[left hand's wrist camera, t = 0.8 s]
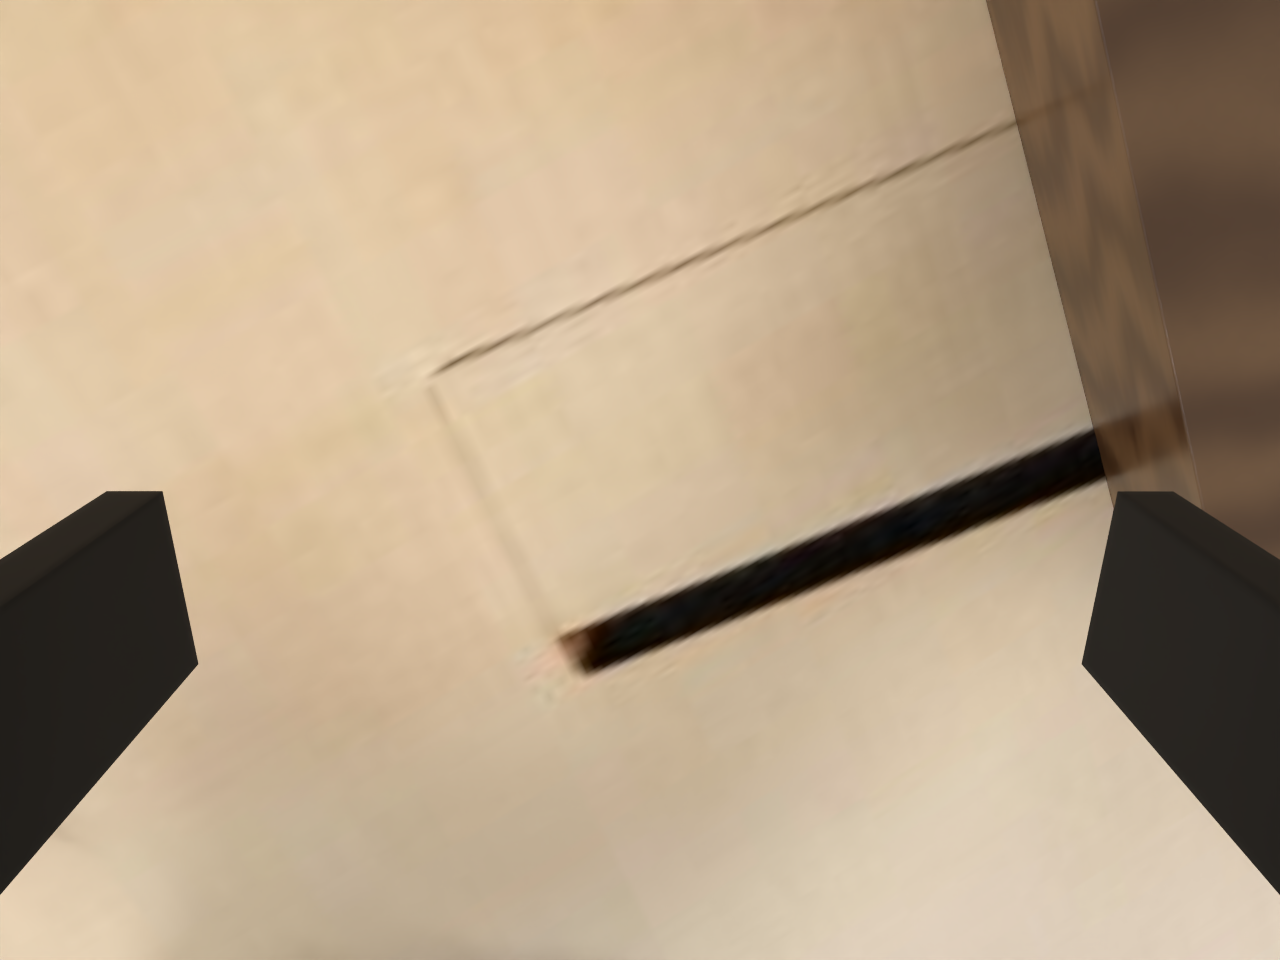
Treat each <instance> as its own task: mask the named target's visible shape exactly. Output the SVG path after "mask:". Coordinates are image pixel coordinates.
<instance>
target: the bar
mask: <svg viewBox="0 0 1280 960" xmlns="http://www.w3.org/2000/svg"><path fill="white" fill-rule="evenodd" d="M986 1H987V5H988V9H989V13H990V17H991V21H992V25H993V29H994V33H995V37H996V41H997V45H998V49H999V53H1000V57H1001V61H1002V65H1003V69H1004V73H1005V77H1006V81H1007V85H1008V89H1009V93H1010V97H1011V101H1012V105H1013V109H1014V113H1015V117H1016V121H1017V125H1018V129H1019V133H1020V137H1021V141H1022V145H1023V149H1024V153H1025V157H1026V161H1027V165H1028V169H1029V173H1030V177H1031V180H1032V184H1033V188H1034V192H1035V196H1036V200H1037V204H1038V208H1039V212H1040V216H1041V220H1042V224H1043V228H1044V232H1045V236H1046V240H1047V244H1048V248H1049V252H1050V256H1051V260H1052V264H1053V268H1054V272H1055V276H1056V280H1057V284H1058V288H1059V292H1060V296H1061V300H1062V304H1063V308H1064V312H1065V316H1066V320H1067V324H1068V328H1069V332H1070V336H1071V340H1072V344H1073V348H1074V352H1075V356H1076V360H1077V364H1078V368H1079V372H1080V376H1081V380H1082V384H1083V388H1084V392H1085V396H1086V400H1087V403H1088V407H1089V411H1090V415H1091V419H1092V423H1093V427H1094V431H1095V435H1096V439H1097V443H1098V447H1099V451H1100V455H1101V459H1102V463H1103V467H1104V471H1105V475H1106V479H1107V483H1108V487H1109V491H1110V495H1111V499H1112V503H1113V507H1114V506H1115V501H1116V496H1117V492H1118V491H1174V492H1175V493H1177V494H1178V495H1180V496H1181V497H1183V498H1184V499H1186V500H1188V501H1189V502H1191V503H1192V504H1194V505H1195V506H1197V507H1199V508H1200V509H1202V510H1203V511H1205V512H1206V513H1208V514H1209V515H1211V516H1213V517H1214V518H1216V519H1217V520H1219V521H1220V522H1222V523H1223V524H1225V525H1227V526H1228V527H1230V528H1231V529H1233V530H1234V531H1236V532H1238V533H1239V534H1241V535H1242V536H1244V537H1245V538H1247V539H1248V540H1250V541H1252V542H1253V543H1255V544H1256V545H1258V546H1259V547H1261V548H1263V549H1264V550H1266V551H1267V552H1269V553H1270V554H1272V555H1273V556H1275V557H1277V558H1278V559H1280V0H986Z"/></svg>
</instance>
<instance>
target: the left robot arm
mask: <svg viewBox="0 0 1280 960" xmlns="http://www.w3.org/2000/svg"><path fill="white" fill-rule="evenodd" d="M197 665H198V660H197V655H196V651H195V646H194V641H193V636H192V631H191V626H190V622H189V617H188V612H187V607H186V602H185V598H184V593H183V588H182V583H181V578H180V573H179V569H178V564H177V559H176V554H175V549H174V545H173V540H172V535H171V530H170V525H169V520H168V516H167V511H166V506H165V501H164V496H163V492H162V491H106V492H105V493H103V494H102V495H100V496H99V497H97V498H96V499H94V500H92V501H91V502H89V503H88V504H86V505H85V506H83V507H81V508H80V509H78V510H77V511H75V512H74V513H72V514H71V515H69V516H67V517H66V518H64V519H63V520H61V521H60V522H58V523H57V524H55V525H53V526H52V527H50V528H49V529H47V530H46V531H44V532H42V533H41V534H39V535H38V536H36V537H35V538H33V539H32V540H30V541H28V542H27V543H25V544H24V545H22V546H21V547H19V548H17V549H16V550H14V551H13V552H11V553H10V554H8V555H7V556H5V557H3V558H2V559H0V894H1V893H2V892H3V891H4V890H5V889H6V887H7V886H8V885H9V884H10V883H11V882H12V880H13V879H14V878H15V877H16V876H17V875H18V873H19V872H20V871H21V870H22V869H23V868H24V866H25V865H26V864H27V863H28V862H29V861H30V859H31V858H32V857H33V856H34V855H35V854H36V852H37V851H38V850H39V849H40V848H41V847H42V845H43V844H44V843H45V842H46V841H47V840H48V839H49V837H50V836H51V835H52V834H53V833H54V832H55V830H56V829H57V828H58V827H59V826H60V825H61V823H62V822H63V821H64V820H65V819H66V818H67V816H68V815H69V814H70V813H71V812H72V811H73V809H74V808H75V807H76V806H77V805H78V804H79V802H80V801H81V800H82V799H83V798H84V797H85V795H86V794H87V793H88V792H89V791H90V790H91V788H92V787H93V786H94V785H95V784H96V783H97V781H98V780H99V779H100V778H101V777H102V776H103V774H104V773H105V772H106V771H107V770H108V769H109V767H110V766H111V765H112V764H113V763H114V762H115V760H116V759H117V758H118V757H119V756H120V755H121V754H122V752H123V751H124V750H125V749H126V748H127V747H128V745H129V744H130V743H131V742H132V741H133V740H134V738H135V737H136V736H137V735H138V734H139V733H140V731H141V730H142V729H143V728H144V727H145V726H146V724H147V723H148V722H149V721H150V720H151V719H152V717H153V716H154V715H155V714H156V713H157V712H158V710H159V709H160V708H161V707H162V706H163V705H164V703H165V702H166V701H167V700H168V699H169V698H170V696H171V695H172V694H173V693H174V692H175V691H176V689H177V688H178V687H179V686H180V685H181V684H182V682H183V681H184V680H185V679H186V678H187V677H188V675H189V674H190V673H191V672H192V671H193V670H194V669H195V667H196V666H197ZM1082 665H1083V666H1084V667H1085V669H1086V670H1087V671H1088V672H1089V673H1090V674H1091V675H1092V677H1093V678H1094V679H1095V680H1096V681H1097V682H1098V684H1099V685H1100V686H1101V687H1102V688H1103V689H1104V691H1105V692H1106V693H1107V694H1108V695H1109V696H1110V698H1111V699H1112V700H1113V701H1114V702H1115V703H1116V705H1117V706H1118V707H1119V708H1120V709H1121V710H1122V712H1123V713H1124V714H1125V715H1126V716H1127V717H1128V719H1129V720H1130V721H1131V722H1132V723H1133V724H1134V726H1135V727H1136V728H1137V729H1138V730H1139V731H1140V733H1141V734H1142V735H1143V736H1144V737H1145V738H1146V740H1147V741H1148V742H1149V743H1150V744H1151V745H1152V747H1153V748H1154V749H1155V750H1156V751H1157V752H1158V754H1159V755H1160V756H1161V757H1162V758H1163V759H1164V760H1165V762H1166V763H1167V764H1168V765H1169V766H1170V767H1171V769H1172V770H1173V771H1174V772H1175V773H1176V774H1177V776H1178V777H1179V778H1180V779H1181V780H1182V781H1183V783H1184V784H1185V785H1186V786H1187V787H1188V788H1189V790H1190V791H1191V792H1192V793H1193V794H1194V795H1195V797H1196V798H1197V799H1198V800H1199V801H1200V802H1201V804H1202V805H1203V806H1204V807H1205V808H1206V809H1207V811H1208V812H1209V813H1210V814H1211V815H1212V816H1213V818H1214V819H1215V820H1216V821H1217V822H1218V823H1219V825H1220V826H1221V827H1222V828H1223V829H1224V830H1225V832H1226V833H1227V834H1228V835H1229V836H1230V837H1231V839H1232V840H1233V841H1234V842H1235V843H1236V844H1237V845H1238V847H1239V848H1240V849H1241V850H1242V851H1243V852H1244V854H1245V855H1246V856H1247V857H1248V858H1249V859H1250V861H1251V862H1252V863H1253V864H1254V865H1255V866H1256V868H1257V869H1258V870H1259V871H1260V872H1261V873H1262V875H1263V876H1264V877H1265V878H1266V879H1267V880H1268V882H1269V883H1270V884H1271V885H1272V886H1273V887H1274V889H1275V890H1276V891H1277V892H1278V893H1279V894H1280V559H1278V558H1277V557H1275V556H1273V555H1272V554H1270V553H1269V552H1267V551H1266V550H1264V549H1263V548H1261V547H1259V546H1258V545H1256V544H1255V543H1253V542H1252V541H1250V540H1248V539H1247V538H1245V537H1244V536H1242V535H1241V534H1239V533H1238V532H1236V531H1234V530H1233V529H1231V528H1230V527H1228V526H1227V525H1225V524H1223V523H1222V522H1220V521H1219V520H1217V519H1216V518H1214V517H1213V516H1211V515H1209V514H1208V513H1206V512H1205V511H1203V510H1202V509H1200V508H1199V507H1197V506H1195V505H1194V504H1192V503H1191V502H1189V501H1188V500H1186V499H1184V498H1183V497H1181V496H1180V495H1178V494H1177V493H1175V492H1174V491H1118V492H1117V496H1116V501H1115V506H1114V511H1113V516H1112V520H1111V525H1110V530H1109V535H1108V540H1107V545H1106V549H1105V554H1104V559H1103V564H1102V569H1101V573H1100V578H1099V583H1098V588H1097V593H1096V598H1095V602H1094V607H1093V612H1092V617H1091V622H1090V626H1089V631H1088V636H1087V641H1086V646H1085V651H1084V655H1083V660H1082Z"/></svg>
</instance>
